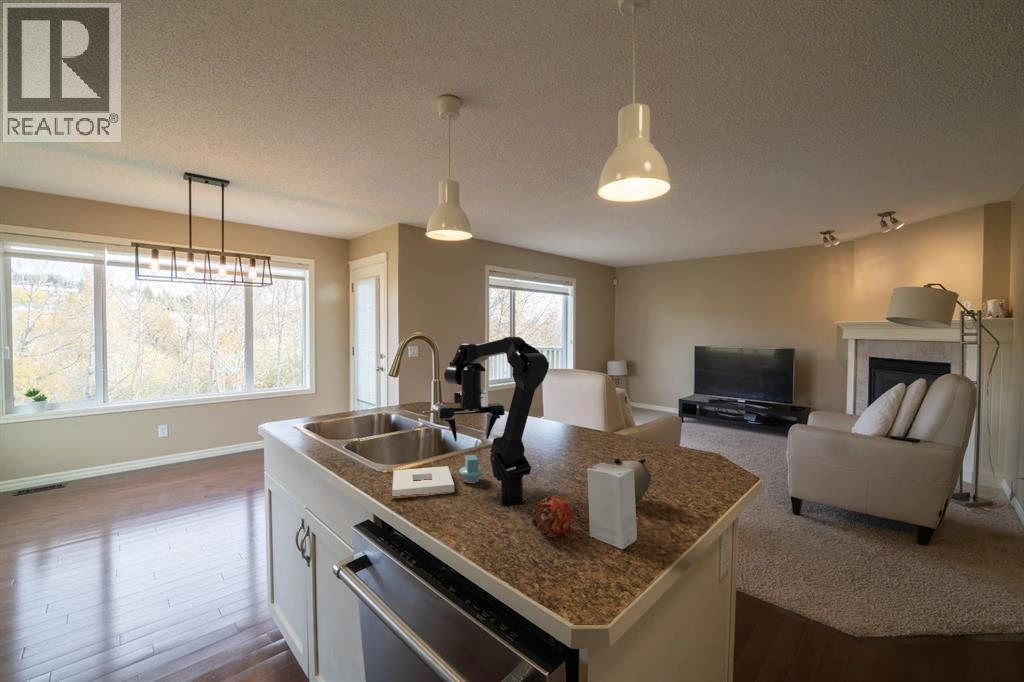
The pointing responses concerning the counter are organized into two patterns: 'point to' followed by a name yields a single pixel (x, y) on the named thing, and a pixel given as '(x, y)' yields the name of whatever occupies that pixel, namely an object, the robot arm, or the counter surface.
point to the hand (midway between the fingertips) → (471, 440)
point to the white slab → (422, 481)
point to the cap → (471, 469)
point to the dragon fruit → (552, 516)
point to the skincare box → (612, 504)
